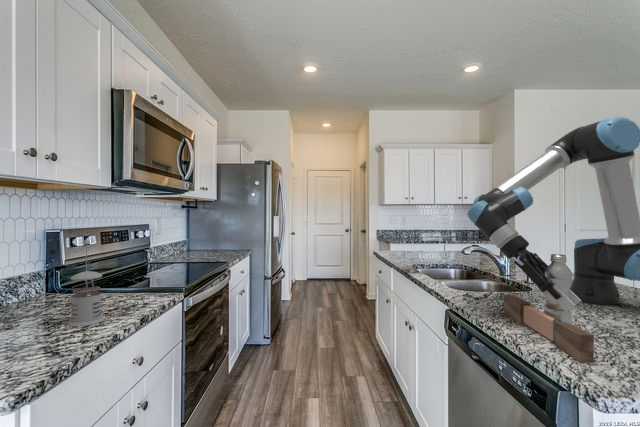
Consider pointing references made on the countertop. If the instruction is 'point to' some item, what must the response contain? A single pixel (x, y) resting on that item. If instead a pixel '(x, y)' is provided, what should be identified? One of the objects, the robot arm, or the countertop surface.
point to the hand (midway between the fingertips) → (573, 305)
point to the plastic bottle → (562, 280)
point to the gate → (540, 322)
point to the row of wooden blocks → (557, 331)
